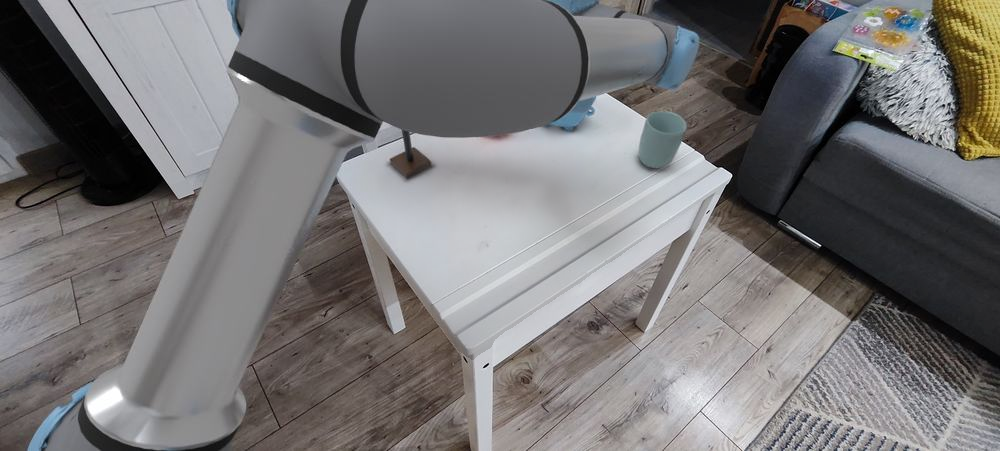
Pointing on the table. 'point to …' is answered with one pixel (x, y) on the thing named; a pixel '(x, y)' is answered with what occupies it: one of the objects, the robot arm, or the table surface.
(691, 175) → the table surface
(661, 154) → the cup
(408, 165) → the peg stand
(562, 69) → the robot arm
